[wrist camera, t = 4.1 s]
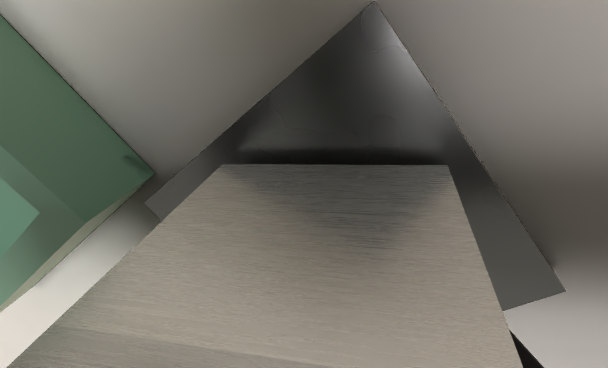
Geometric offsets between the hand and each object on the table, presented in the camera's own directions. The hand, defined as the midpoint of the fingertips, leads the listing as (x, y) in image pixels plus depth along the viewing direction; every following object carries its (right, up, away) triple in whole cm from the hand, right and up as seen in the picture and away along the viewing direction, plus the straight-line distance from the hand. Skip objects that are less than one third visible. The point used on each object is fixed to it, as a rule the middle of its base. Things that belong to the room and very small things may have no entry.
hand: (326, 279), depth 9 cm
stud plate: (0, +1, +2) cm, 2 cm away
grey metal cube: (0, 0, +1) cm, 1 cm away
